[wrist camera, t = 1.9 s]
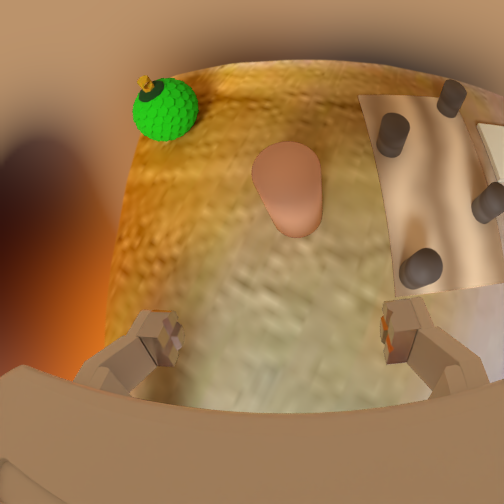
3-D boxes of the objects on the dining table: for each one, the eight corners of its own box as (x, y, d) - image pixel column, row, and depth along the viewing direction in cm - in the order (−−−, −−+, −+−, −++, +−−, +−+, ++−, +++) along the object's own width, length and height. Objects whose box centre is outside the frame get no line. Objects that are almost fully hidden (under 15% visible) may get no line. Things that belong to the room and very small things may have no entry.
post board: (452, 101, 28) (462, 78, 23) (503, 282, 22) (528, 275, 17) (357, 98, 31) (359, 71, 26) (394, 297, 25) (408, 292, 20)
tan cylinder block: (319, 188, 29) (316, 138, 20) (324, 235, 27) (325, 198, 19) (271, 193, 30) (250, 146, 21) (273, 240, 29) (252, 205, 20)
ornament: (184, 97, 36) (153, 49, 27) (220, 119, 34) (190, 64, 24) (143, 136, 36) (102, 95, 27) (174, 164, 34) (129, 117, 24)
